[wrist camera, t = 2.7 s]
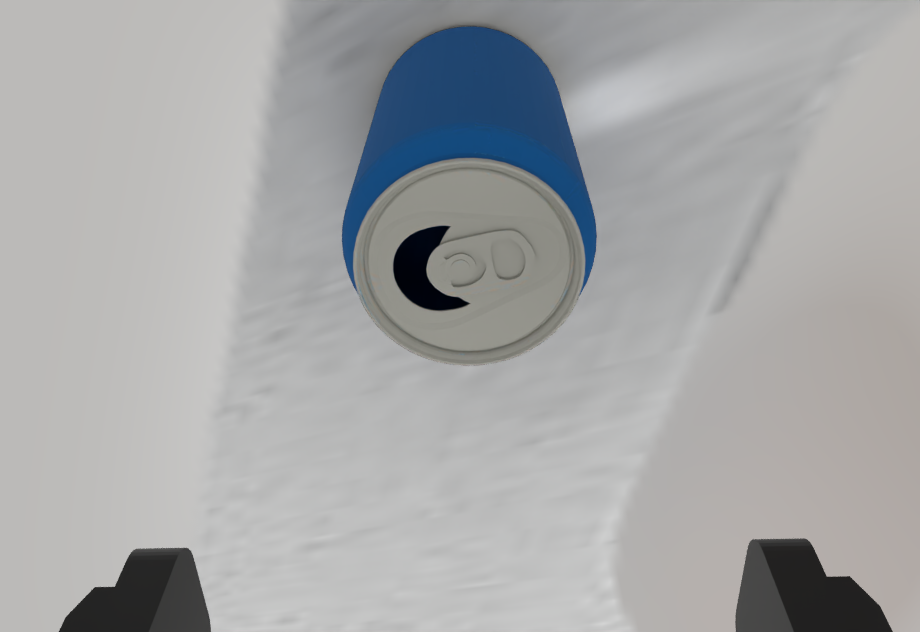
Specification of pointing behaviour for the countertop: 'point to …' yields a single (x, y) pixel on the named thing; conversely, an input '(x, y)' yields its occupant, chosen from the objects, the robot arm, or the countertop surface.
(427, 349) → the beverage can
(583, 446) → the countertop surface
